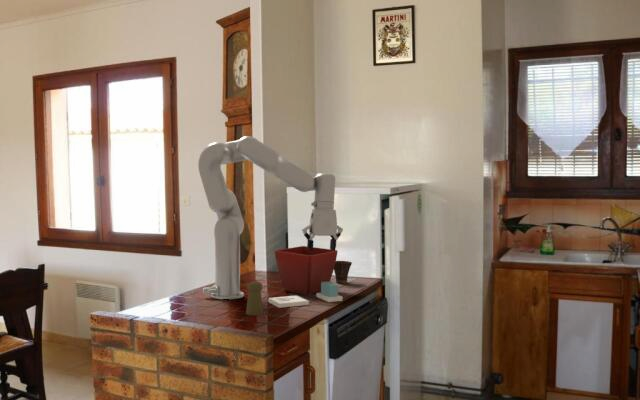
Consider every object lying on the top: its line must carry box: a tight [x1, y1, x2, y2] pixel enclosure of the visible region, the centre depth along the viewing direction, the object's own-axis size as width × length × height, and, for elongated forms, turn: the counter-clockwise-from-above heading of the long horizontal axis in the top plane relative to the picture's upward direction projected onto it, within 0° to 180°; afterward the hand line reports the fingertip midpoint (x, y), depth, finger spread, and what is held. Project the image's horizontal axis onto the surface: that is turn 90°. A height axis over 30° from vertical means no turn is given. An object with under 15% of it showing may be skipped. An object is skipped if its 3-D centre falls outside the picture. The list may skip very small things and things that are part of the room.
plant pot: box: [274, 245, 339, 295], centre depth 242 cm, size 19×19×17 cm
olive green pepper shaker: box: [245, 280, 264, 317], centre depth 203 cm, size 6×6×11 cm
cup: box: [333, 260, 353, 285], centre depth 260 cm, size 9×9×10 cm
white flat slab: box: [268, 294, 310, 309], centre depth 219 cm, size 12×10×2 cm
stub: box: [316, 280, 343, 303], centre depth 226 cm, size 6×10×6 cm, turn 28°
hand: (321, 250), depth 226 cm, fingers open, 9 cm apart
